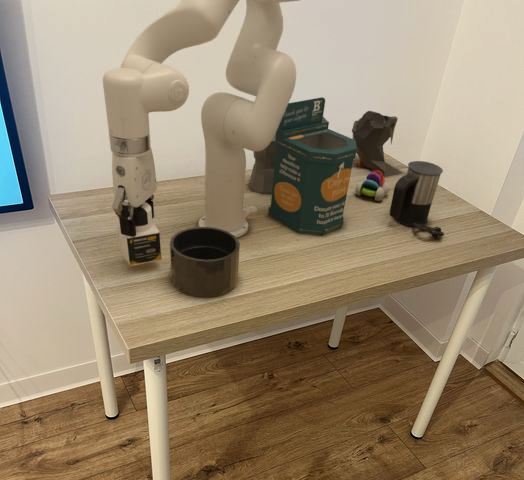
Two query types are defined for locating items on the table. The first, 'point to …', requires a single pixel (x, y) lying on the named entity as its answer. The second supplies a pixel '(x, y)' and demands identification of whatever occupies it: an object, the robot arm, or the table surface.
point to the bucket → (204, 261)
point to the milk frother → (416, 196)
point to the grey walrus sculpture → (374, 141)
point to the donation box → (310, 170)
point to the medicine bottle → (141, 238)
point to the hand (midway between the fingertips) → (138, 225)
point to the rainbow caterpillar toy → (373, 186)
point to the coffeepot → (264, 169)
